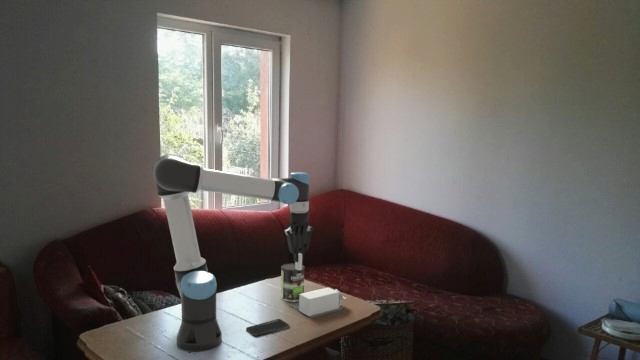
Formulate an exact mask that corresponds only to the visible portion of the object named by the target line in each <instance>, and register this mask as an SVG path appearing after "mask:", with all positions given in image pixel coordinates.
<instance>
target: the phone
mask: <svg viewBox="0 0 640 360" xmlns="http://www.w3.org/2000/svg"><path fill="white" fill-rule="evenodd" d="M289 328H290V324H289V323H287V322H286V321H284V320H282V319H280V318H277V319H276V318H275V319H273V320H268V321H265V322H261V323H259V324H255V325H251V326H248V327H247V326H246V328H245V331H246V332H247V333H249V334H250V335H251V336H252V337H254V338H258V337H259V338H260V337H262V336H267V335H268V334H269V335H270V334H273V333H276V332H280V331H283V330H287V329H289Z"/></svg>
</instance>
